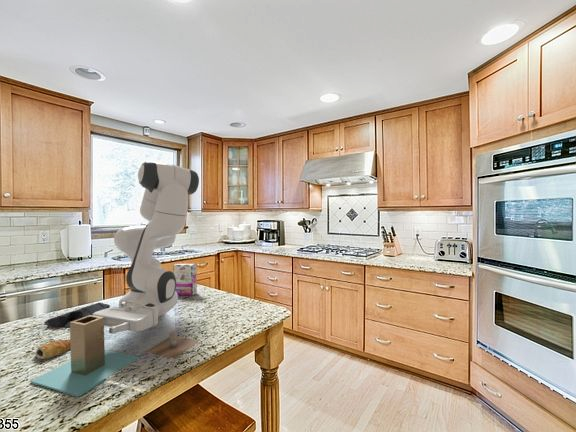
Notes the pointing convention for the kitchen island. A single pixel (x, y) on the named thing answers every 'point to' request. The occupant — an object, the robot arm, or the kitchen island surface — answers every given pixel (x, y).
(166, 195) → the robot arm
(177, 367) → the kitchen island surface
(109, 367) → the teal hub plate
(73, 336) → the bronze sleeve
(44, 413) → the kitchen island surface
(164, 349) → the walnut stand
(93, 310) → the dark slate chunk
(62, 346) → the pastry
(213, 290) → the kitchen island surface
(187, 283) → the candy bar box
